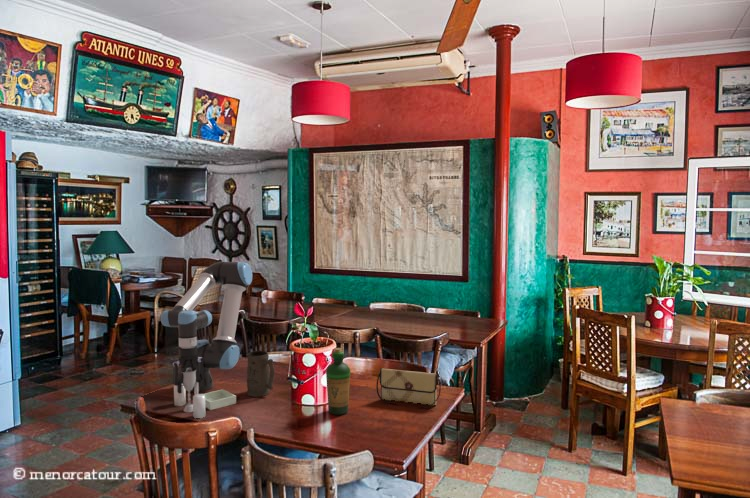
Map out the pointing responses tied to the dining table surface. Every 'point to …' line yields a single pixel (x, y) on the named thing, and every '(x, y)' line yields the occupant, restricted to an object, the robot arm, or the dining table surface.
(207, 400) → the tray
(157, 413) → the dining table surface
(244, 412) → the dining table surface
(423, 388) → the clutch purse
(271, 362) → the beer stein
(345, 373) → the bottle
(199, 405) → the pillar candle
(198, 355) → the robot arm
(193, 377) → the chalice
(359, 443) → the dining table surface
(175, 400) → the white upright cylinder
